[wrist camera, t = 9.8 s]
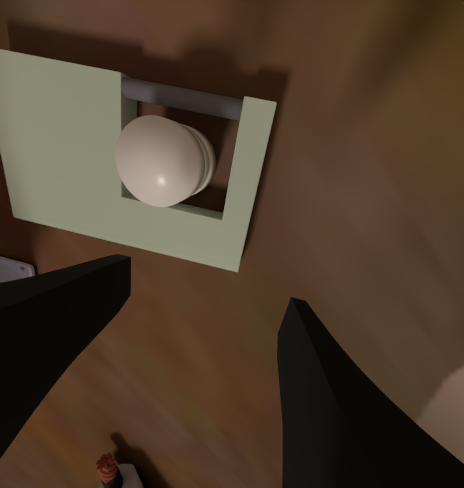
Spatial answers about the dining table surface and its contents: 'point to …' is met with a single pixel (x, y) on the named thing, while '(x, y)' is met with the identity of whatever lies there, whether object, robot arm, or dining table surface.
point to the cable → (117, 474)
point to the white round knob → (164, 160)
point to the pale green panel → (104, 163)
